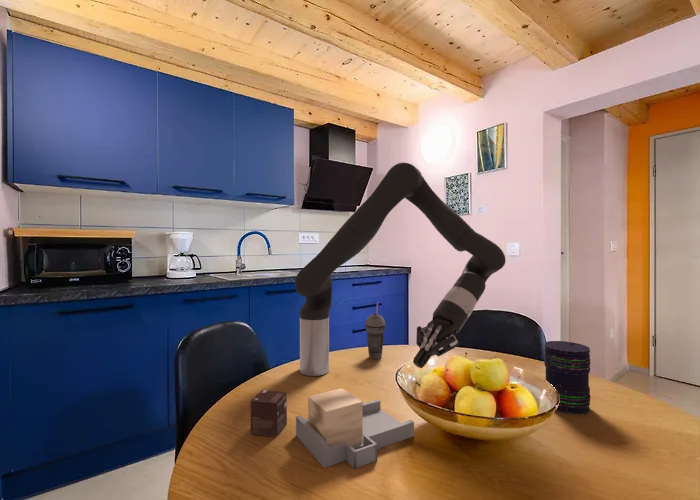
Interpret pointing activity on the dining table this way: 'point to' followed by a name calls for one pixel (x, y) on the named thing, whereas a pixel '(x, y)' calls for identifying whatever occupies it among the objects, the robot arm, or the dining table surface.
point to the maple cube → (336, 417)
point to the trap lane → (375, 436)
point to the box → (268, 413)
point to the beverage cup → (375, 335)
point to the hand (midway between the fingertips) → (417, 365)
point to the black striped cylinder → (569, 375)
